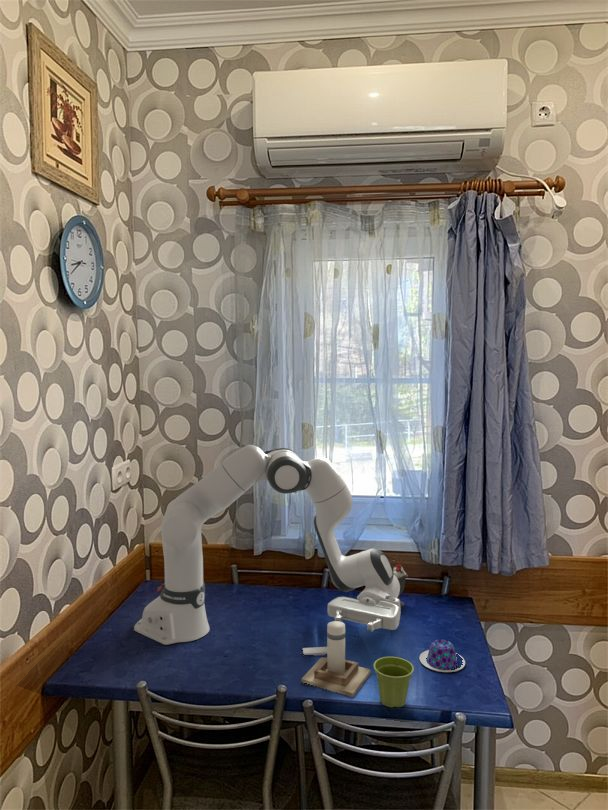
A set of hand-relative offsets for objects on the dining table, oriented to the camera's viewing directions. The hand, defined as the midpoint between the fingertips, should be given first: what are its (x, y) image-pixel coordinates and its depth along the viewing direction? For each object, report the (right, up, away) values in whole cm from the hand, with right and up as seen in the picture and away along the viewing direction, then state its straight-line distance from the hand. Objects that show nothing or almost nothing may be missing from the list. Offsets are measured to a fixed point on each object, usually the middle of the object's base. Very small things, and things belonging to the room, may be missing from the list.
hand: (353, 624), depth 166 cm
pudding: (+24, -10, 0) cm, 26 cm away
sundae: (+17, -6, +35) cm, 40 cm away
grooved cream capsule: (-5, -10, -8) cm, 14 cm away
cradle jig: (-5, -11, -8) cm, 14 cm away
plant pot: (+8, -12, -18) cm, 23 cm away
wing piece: (-8, -10, +5) cm, 14 cm away
